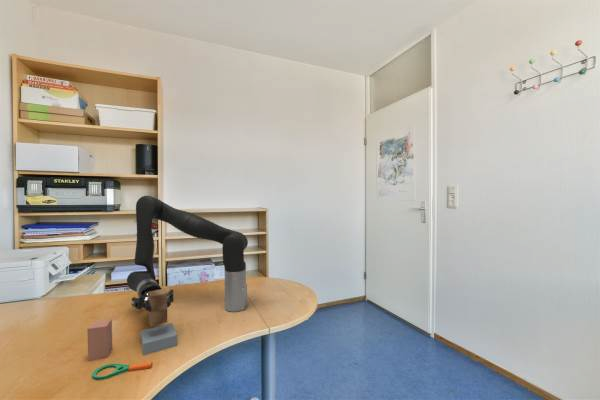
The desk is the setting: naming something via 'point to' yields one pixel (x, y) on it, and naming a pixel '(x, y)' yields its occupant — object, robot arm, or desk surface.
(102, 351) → the brick-red block
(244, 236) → the robot arm
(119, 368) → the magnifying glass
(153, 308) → the walnut block
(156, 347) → the slate base block
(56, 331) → the desk surface
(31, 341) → the desk surface
